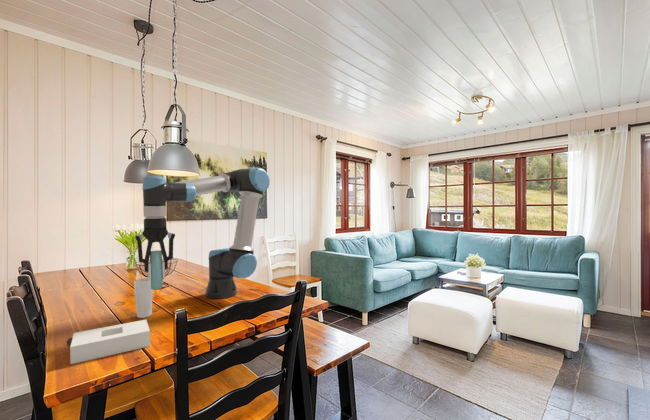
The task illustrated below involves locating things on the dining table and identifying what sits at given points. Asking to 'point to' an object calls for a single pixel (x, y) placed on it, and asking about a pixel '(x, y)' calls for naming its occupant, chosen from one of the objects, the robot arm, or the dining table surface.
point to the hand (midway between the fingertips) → (156, 279)
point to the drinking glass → (143, 297)
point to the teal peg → (156, 269)
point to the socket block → (109, 341)
